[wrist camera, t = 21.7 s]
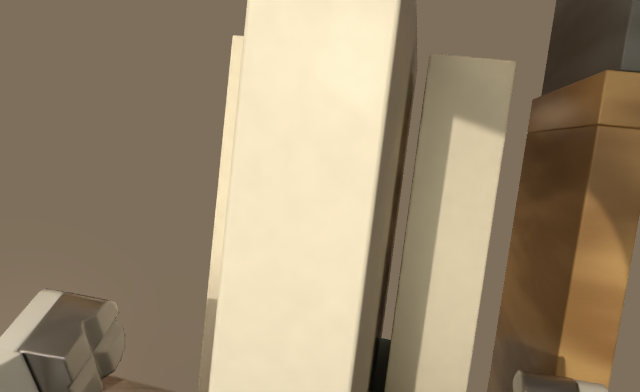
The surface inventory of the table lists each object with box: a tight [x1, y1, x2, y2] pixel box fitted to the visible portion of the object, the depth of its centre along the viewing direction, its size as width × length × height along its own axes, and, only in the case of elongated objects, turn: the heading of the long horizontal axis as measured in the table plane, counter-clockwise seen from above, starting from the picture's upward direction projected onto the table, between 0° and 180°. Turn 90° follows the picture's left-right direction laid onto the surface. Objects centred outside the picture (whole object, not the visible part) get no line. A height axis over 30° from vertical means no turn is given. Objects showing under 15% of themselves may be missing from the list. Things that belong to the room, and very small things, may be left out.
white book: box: [208, 0, 417, 392], centre depth 18 cm, size 2×19×13 cm, turn 170°
